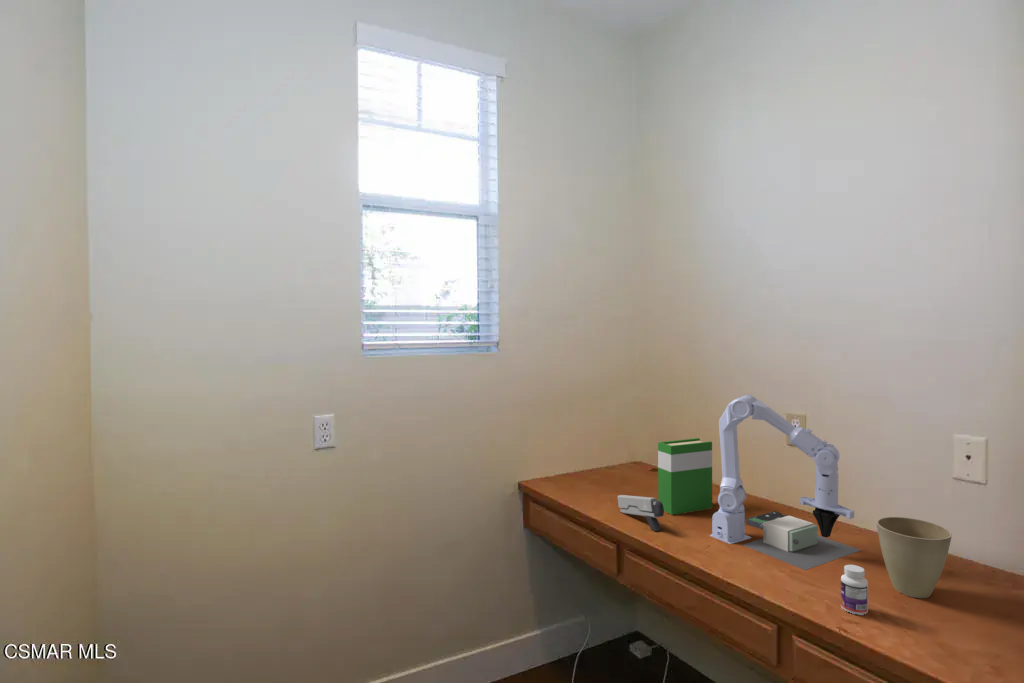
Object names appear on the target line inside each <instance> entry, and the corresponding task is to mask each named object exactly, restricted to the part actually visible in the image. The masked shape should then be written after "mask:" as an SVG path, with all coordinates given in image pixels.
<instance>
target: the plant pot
mask: <svg viewBox="0 0 1024 683" xmlns="http://www.w3.org/2000/svg"><path fill="white" fill-rule="evenodd" d="M876 528H877V535H878V540H879V545H880V550H881V553H882V554H881V555H882V557H883V561H884V562H883V563H884V564H885V568H886V570H887V573H888V576H889V579H890V582H891V585H892V586H893V588H894V589H895V590H896V591H897V592H899V593H900V594H902V595H904V596H907V597H911V598H915V599H916V598H917V599H927V598H930V597H931V595H932V594H933V592H934V590H935V588H936V586H937V584H938V582H939V580H940V577H941V575H942V572H943V570H944V567H945V566H946V565H945V564H946V561H947V558H948V554H949V550H950V546H951V541H952V537H953V534H952V532H951V531H950V530H949V529H948V528H945V527H944V526H941V525H940V524H936V523H933V522H930V521H927V520H923V519H917V518H911V517H901V516H885V517H881V518H879V519H877V520H876Z"/></svg>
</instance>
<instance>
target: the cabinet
mask: <svg viewBox="0 0 1024 683" xmlns="http://www.w3.org/2000/svg"><path fill="white" fill-rule="evenodd" d="M811 525H815V524H814V522H810V521H808V520H804V519H801V518H799V517H795V516H792V515H789V516H785V517H782V518H778V519H774V520H771V521H767V522H763V530H762V532H763V533H762V534H763V538H762V539H763V542H764V543H767V544H769V545H772V546H774V547H777V548H780V549H782V550H785V551H789V532H790V531H794V530H797V529H801V528H804V527H808V526H811Z"/></svg>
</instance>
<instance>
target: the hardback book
mask: <svg viewBox="0 0 1024 683" xmlns="http://www.w3.org/2000/svg"><path fill="white" fill-rule="evenodd" d="M657 473H658V474H657V485H658V486H657V487H658V488H657V496H658V497H657V498H658V499H657V501H661V502H662V504H663V508H664V511H665V512H664V513H666V512H667V513H666V514H668V513H669V514H668V515H670V514H671V515H670V516H674V515H673V514H676V515H680V514H679V513H682V514H686V513H685V512H689V513H693V512H692V511H695V512H699V511H698V510H701V511H705V510H704V509H707V510H711V509H710V508H712V509H713V441H710V440H709V441H701V439H700V438H699V437H695V438H687V439H686V438H684V439H676V440H675V439H674V440H668V441H667V440H666V441H657Z"/></svg>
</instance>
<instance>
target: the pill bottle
mask: <svg viewBox="0 0 1024 683" xmlns="http://www.w3.org/2000/svg"><path fill="white" fill-rule="evenodd" d="M843 567H844V568H843V573H844V574H842V575H841V577H840V607H841V609H842V610H843V609H844V610H845V612H846V611H847V612H846V613H848V612H850V613H849V614H851V613H852V614H851V615H855V614H858V615H857V616H865V615H867V614H868V612H869V582H868V579H866V577H865V574H866V572H865V568H864V567H862V566H860V565H855V564H845V565H844V566H843ZM844 610H843V611H844ZM866 613H867V614H866ZM859 614H860V615H859ZM864 614H865V615H864Z"/></svg>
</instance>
